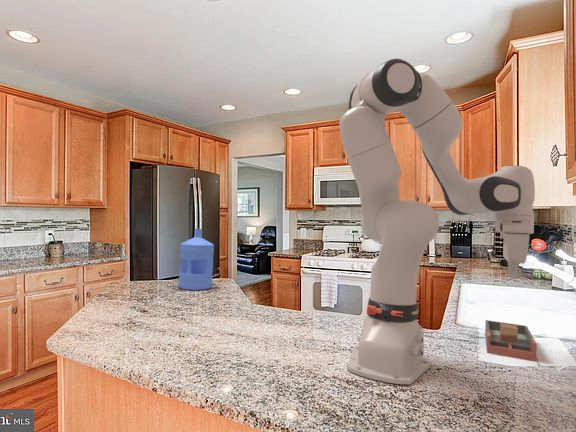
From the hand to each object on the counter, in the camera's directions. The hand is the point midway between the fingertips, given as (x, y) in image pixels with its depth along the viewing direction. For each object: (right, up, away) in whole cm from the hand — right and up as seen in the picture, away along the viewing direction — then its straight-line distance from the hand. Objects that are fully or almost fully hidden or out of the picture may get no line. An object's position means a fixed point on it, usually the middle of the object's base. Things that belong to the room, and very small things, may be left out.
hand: (512, 277), depth 97 cm
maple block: (+2, -19, +6) cm, 20 cm away
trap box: (+3, -21, +7) cm, 22 cm away
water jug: (-105, -18, +75) cm, 130 cm away
